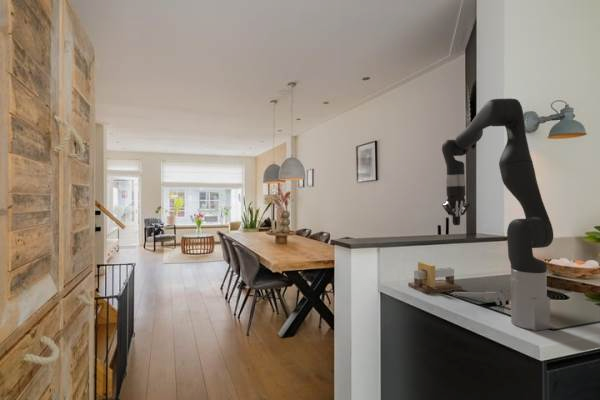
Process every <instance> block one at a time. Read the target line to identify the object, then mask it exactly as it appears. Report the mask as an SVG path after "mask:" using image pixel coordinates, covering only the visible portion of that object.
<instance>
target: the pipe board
mask: <svg viewBox="0 0 600 400" xmlns="http://www.w3.org/2000/svg"><path fill="white" fill-rule="evenodd" d="M413 278H414V277H413ZM444 278H445V279H442V278H441V279H435V287H429V286H427V285H424V284H423V279H416V278H414V279H413V282H408V283H407V285H408V287H409V288H411V289H413V290H415V291H418V292H420V293H422V294H424V295H426V294H427V295H428V294H434V293H444V291H447V292H453V291H452V290H455V291H462V290H463V289H462V285H459V284H457V283H455V275H454V276H448V277H444Z"/></svg>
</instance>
